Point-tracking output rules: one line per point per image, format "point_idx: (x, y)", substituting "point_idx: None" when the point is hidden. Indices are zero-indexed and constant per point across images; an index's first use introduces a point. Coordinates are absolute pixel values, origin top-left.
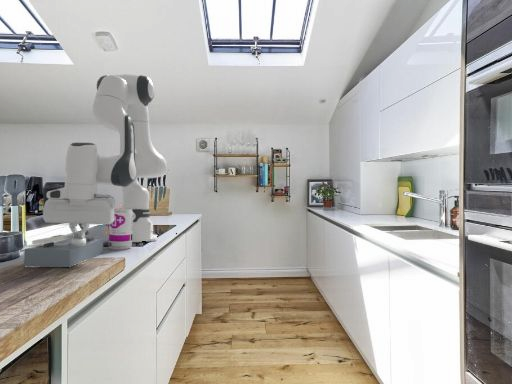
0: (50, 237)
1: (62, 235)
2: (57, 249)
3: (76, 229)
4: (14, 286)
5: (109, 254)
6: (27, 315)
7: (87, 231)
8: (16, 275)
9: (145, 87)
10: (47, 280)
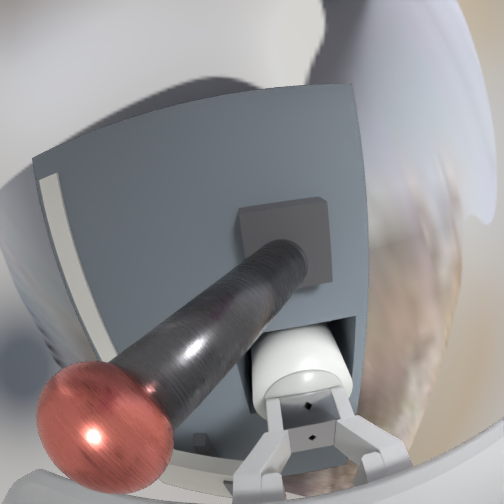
0: (216, 487)
1: None
2: (296, 472)
3: (276, 449)
4: (303, 489)
5: (371, 131)
6: None
7: (295, 285)
8: None
9: None
10: (338, 469)
